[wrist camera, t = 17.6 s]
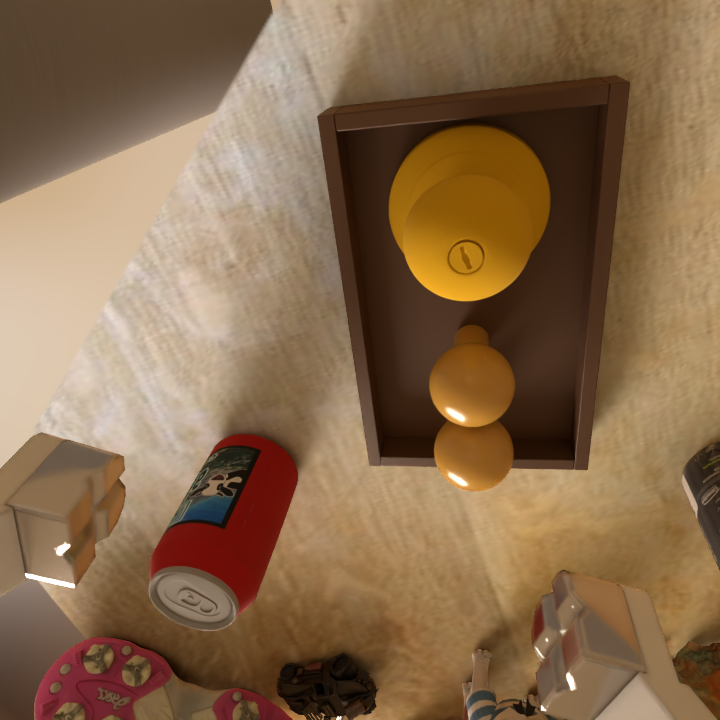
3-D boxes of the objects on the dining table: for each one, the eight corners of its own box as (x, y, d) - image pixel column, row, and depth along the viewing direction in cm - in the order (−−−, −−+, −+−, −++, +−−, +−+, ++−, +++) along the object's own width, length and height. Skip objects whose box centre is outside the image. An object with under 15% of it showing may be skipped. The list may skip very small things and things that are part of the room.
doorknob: (522, 93, 26) (565, 247, 30) (367, 160, 29) (422, 294, 33) (538, 120, 20) (590, 311, 24) (338, 202, 23) (410, 363, 26)
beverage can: (238, 411, 40) (161, 545, 30) (318, 459, 42) (269, 604, 32) (200, 464, 44) (120, 601, 34) (274, 507, 45) (218, 652, 35)
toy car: (391, 693, 55) (382, 739, 52) (288, 699, 60) (273, 742, 56) (364, 650, 53) (353, 695, 50) (260, 660, 58) (243, 702, 54)
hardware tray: (375, 440, 40) (369, 466, 38) (328, 107, 29) (316, 115, 27) (580, 442, 37) (587, 470, 35) (617, 74, 26) (630, 81, 24)
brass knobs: (439, 428, 37) (433, 507, 32) (432, 307, 33) (423, 372, 27) (508, 428, 37) (515, 509, 31) (510, 304, 32) (519, 371, 26)
